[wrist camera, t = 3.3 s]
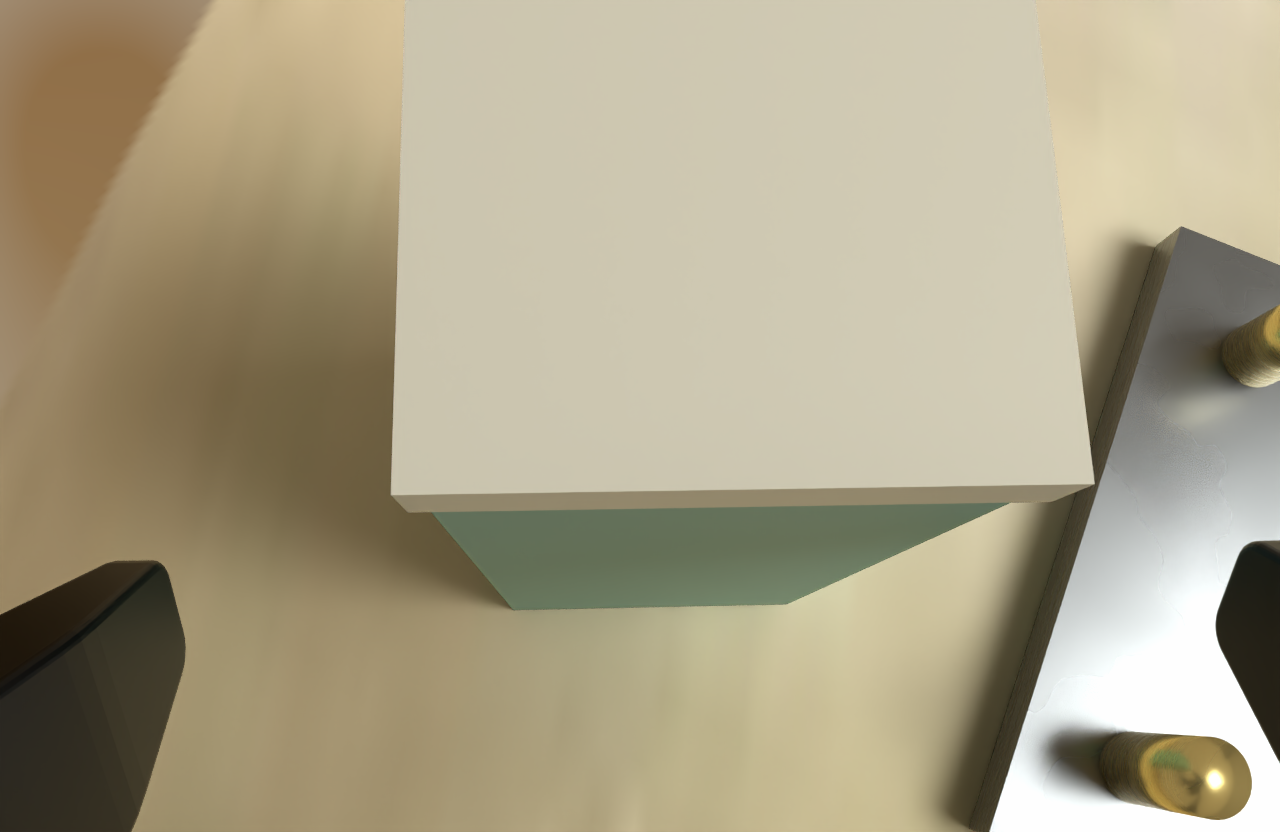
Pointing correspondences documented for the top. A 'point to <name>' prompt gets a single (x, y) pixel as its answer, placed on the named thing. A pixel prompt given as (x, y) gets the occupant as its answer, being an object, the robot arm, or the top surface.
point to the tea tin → (726, 290)
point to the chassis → (1156, 576)
